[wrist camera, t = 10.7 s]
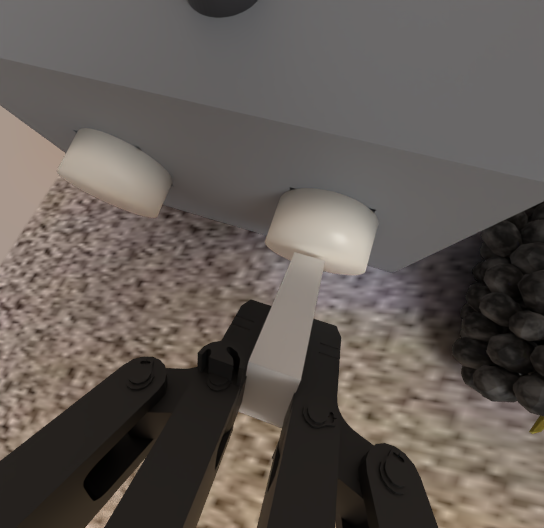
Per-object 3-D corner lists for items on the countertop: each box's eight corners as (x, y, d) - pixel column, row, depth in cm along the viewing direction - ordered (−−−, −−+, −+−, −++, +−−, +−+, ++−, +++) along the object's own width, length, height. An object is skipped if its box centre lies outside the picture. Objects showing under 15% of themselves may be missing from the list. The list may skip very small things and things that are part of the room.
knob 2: (382, 171, 17) (421, 107, 12) (352, 280, 15) (381, 261, 10) (304, 152, 18) (309, 84, 12) (269, 255, 16) (258, 226, 11)
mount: (416, 179, 21) (600, -31, 8) (392, 273, 20) (570, 188, 7) (154, 116, 25) (4, -102, 12) (118, 191, 23) (-94, 36, 10)
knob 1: (212, 130, 18) (181, 58, 13) (172, 225, 17) (121, 185, 12) (147, 114, 19) (95, 41, 14) (104, 204, 18) (30, 159, 13)
